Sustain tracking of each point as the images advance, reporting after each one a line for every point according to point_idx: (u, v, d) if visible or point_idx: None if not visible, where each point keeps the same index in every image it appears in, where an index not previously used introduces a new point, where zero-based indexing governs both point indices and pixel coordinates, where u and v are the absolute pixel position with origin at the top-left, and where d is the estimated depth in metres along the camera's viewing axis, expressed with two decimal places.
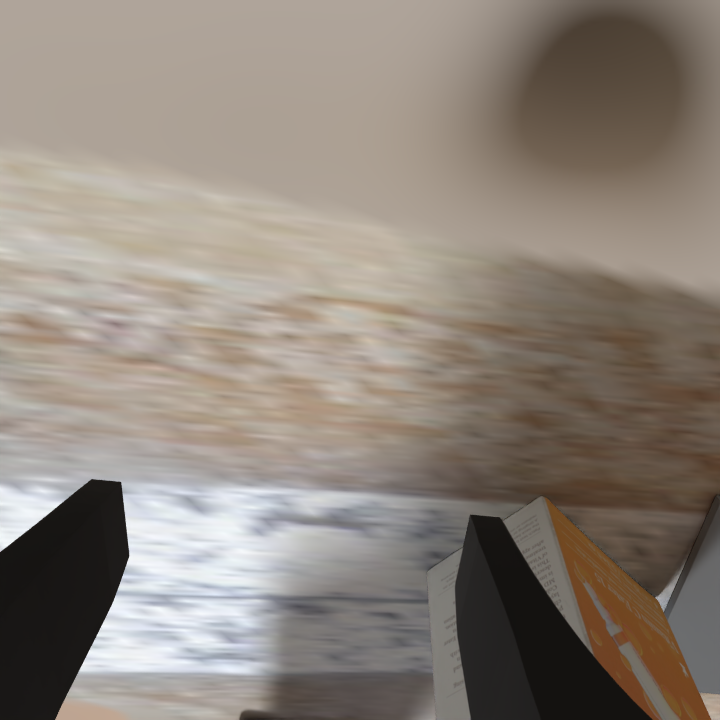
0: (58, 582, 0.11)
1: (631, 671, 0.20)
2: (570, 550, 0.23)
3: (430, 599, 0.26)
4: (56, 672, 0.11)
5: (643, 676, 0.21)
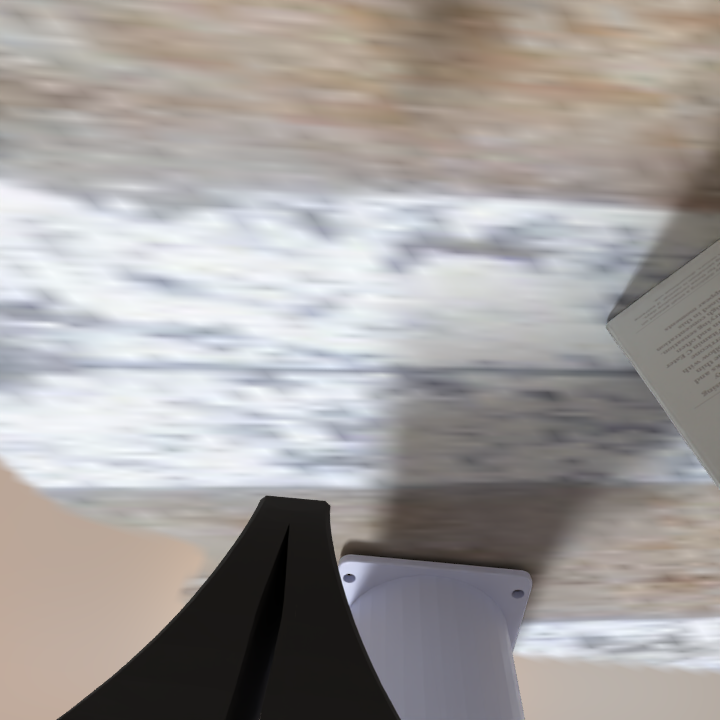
0: (268, 601, 0.11)
1: None
2: None
3: (624, 341, 0.20)
4: (259, 691, 0.11)
5: None
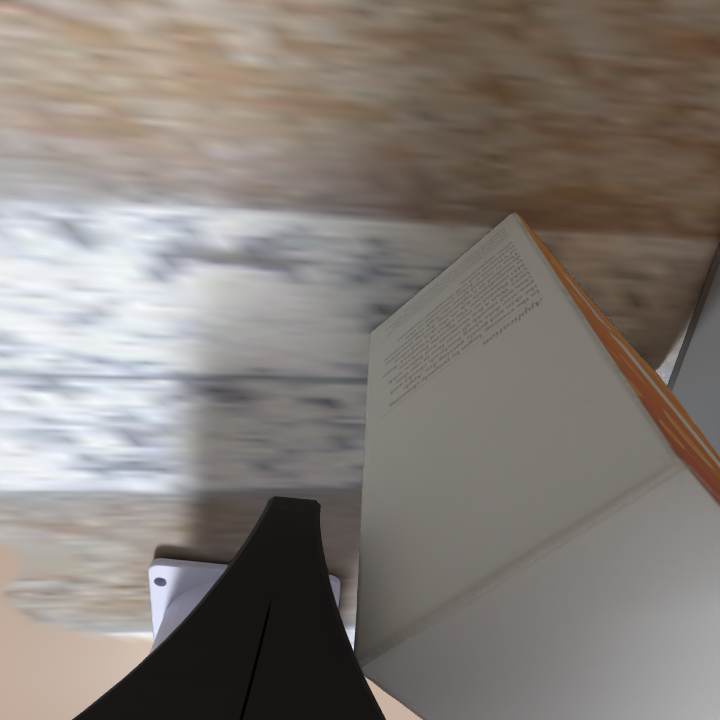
0: None
1: (625, 352, 0.15)
2: (546, 251, 0.18)
3: (371, 350, 0.20)
4: None
5: (641, 369, 0.15)
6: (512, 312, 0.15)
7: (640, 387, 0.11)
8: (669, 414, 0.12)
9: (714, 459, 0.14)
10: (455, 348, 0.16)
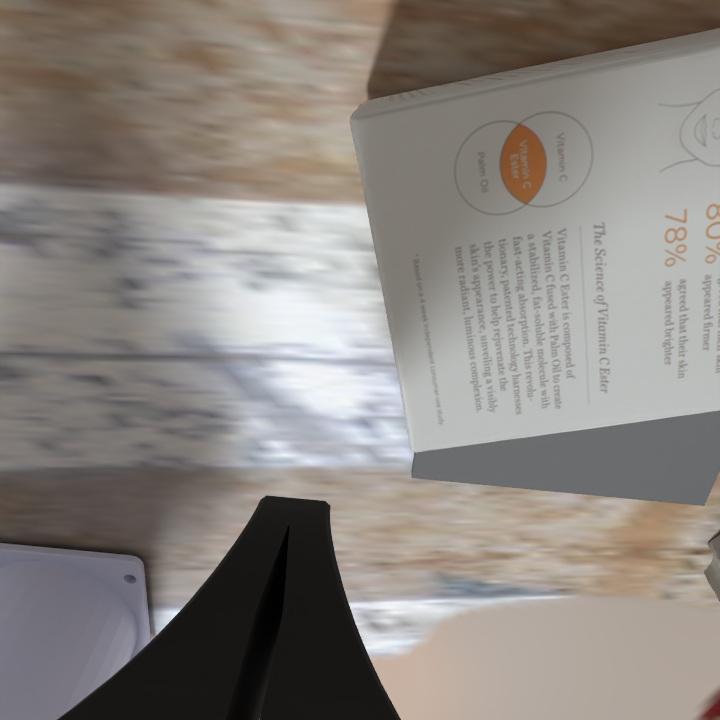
0: (268, 602, 0.11)
1: None
2: None
3: (434, 95, 0.13)
4: (259, 691, 0.11)
5: None
6: (588, 55, 0.16)
7: None
8: None
9: None
10: (593, 56, 0.15)
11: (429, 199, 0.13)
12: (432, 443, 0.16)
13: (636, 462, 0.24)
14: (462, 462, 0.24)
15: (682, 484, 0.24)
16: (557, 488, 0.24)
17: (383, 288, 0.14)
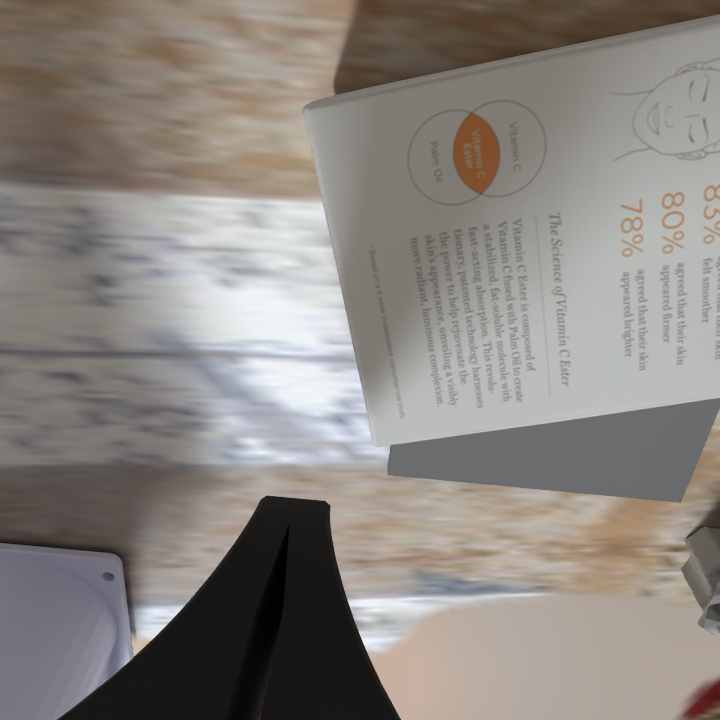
0: (268, 601, 0.11)
1: None
2: None
3: (386, 84, 0.13)
4: (259, 690, 0.11)
5: None
6: None
7: None
8: None
9: None
10: None
11: (383, 189, 0.13)
12: (394, 437, 0.16)
13: (611, 458, 0.24)
14: (437, 459, 0.24)
15: (658, 481, 0.24)
16: (533, 485, 0.24)
17: (340, 280, 0.14)
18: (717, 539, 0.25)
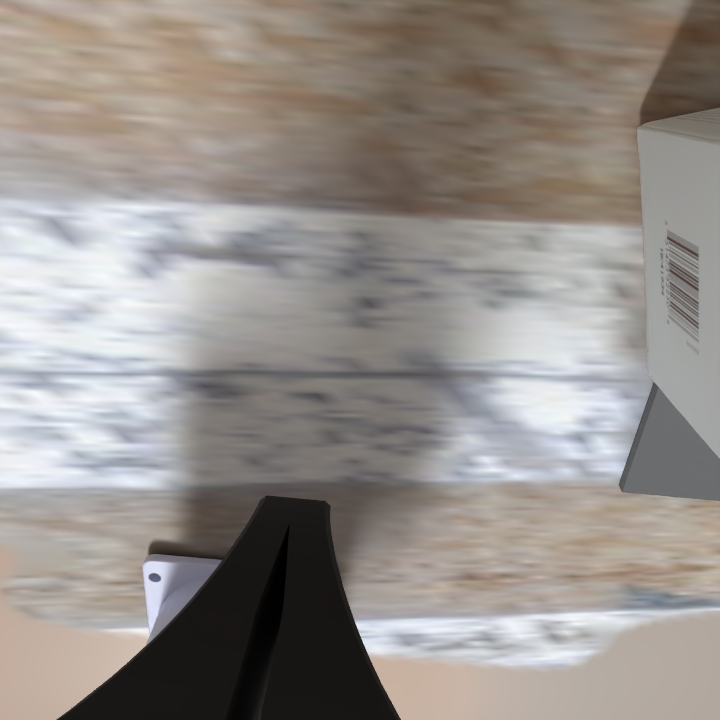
0: (268, 601, 0.11)
1: None
2: None
3: None
4: (259, 691, 0.11)
5: None
6: None
7: None
8: None
9: None
10: None
11: None
12: None
13: None
14: (676, 476, 0.24)
15: None
16: None
17: None
18: None
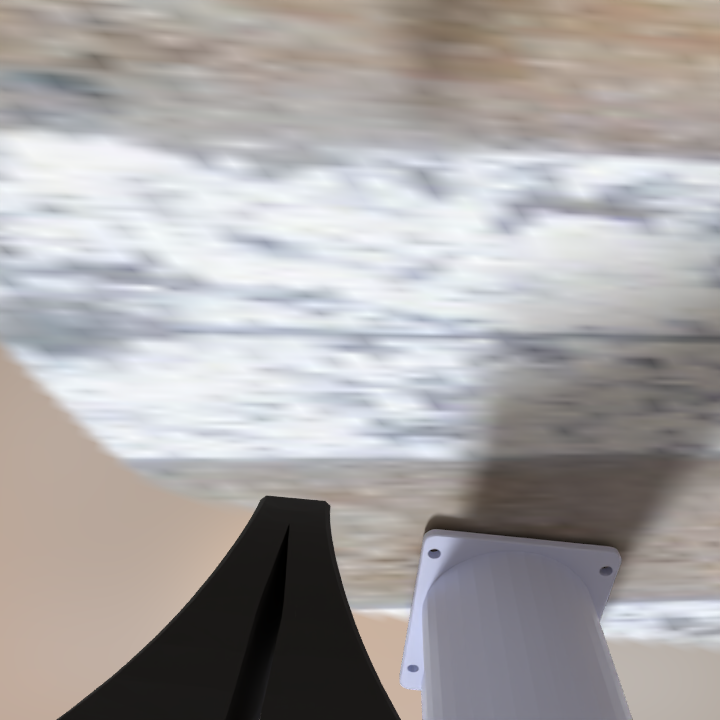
0: (268, 601, 0.11)
1: None
2: None
3: None
4: (259, 691, 0.11)
5: None
6: None
7: None
8: None
9: None
10: None
11: None
12: None
13: None
14: None
15: None
16: None
17: None
18: None
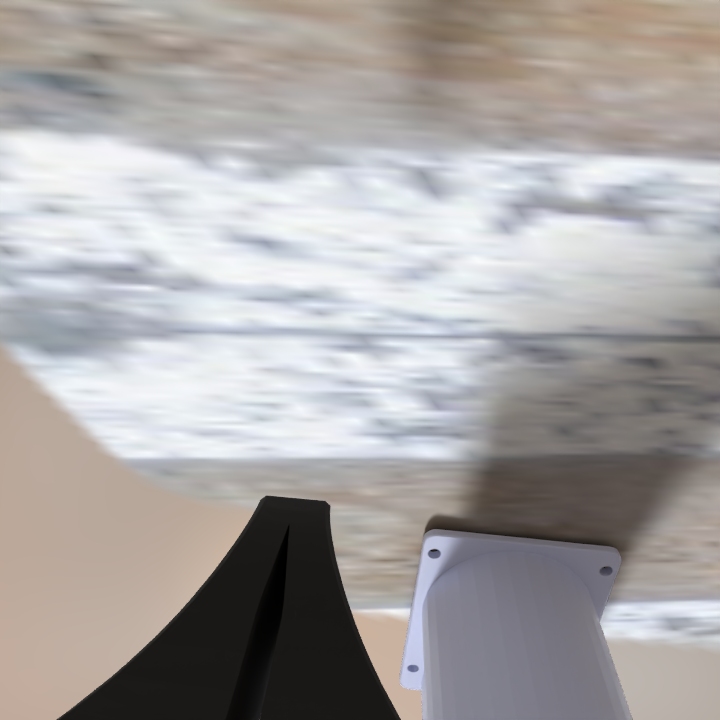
0: (268, 601, 0.11)
1: None
2: None
3: None
4: (259, 691, 0.11)
5: None
6: None
7: None
8: None
9: None
10: None
11: None
12: None
13: None
14: None
15: None
16: None
17: None
18: None
